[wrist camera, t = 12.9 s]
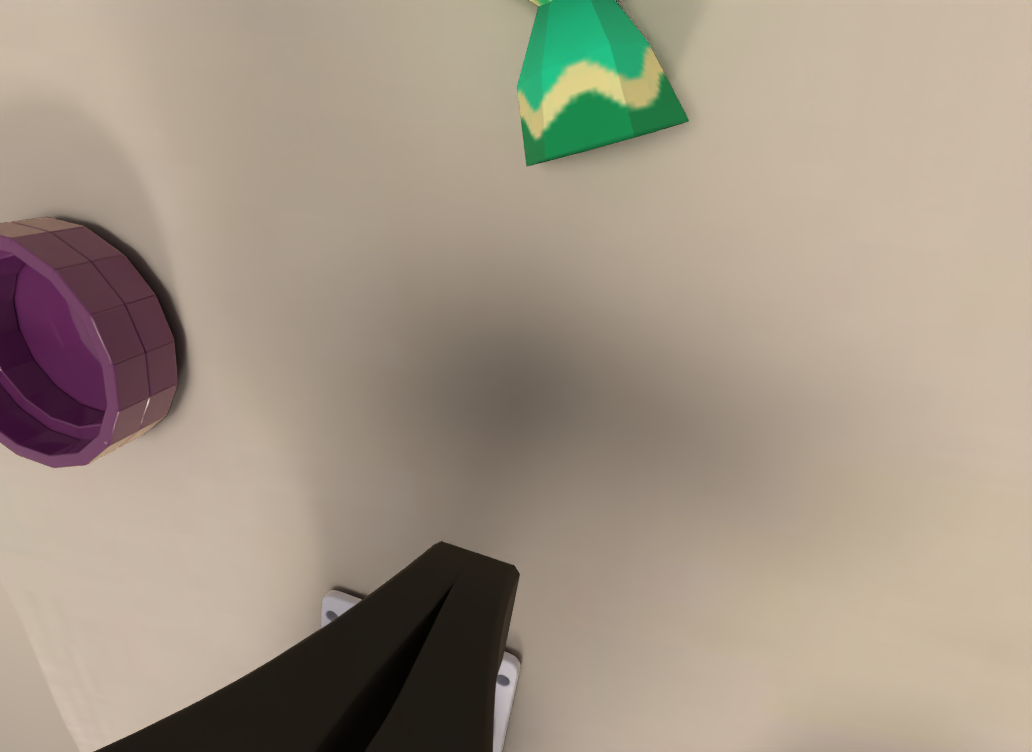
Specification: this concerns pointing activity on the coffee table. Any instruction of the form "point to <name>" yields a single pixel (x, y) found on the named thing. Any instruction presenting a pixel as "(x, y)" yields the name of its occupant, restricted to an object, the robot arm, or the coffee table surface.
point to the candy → (589, 81)
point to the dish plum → (77, 345)
